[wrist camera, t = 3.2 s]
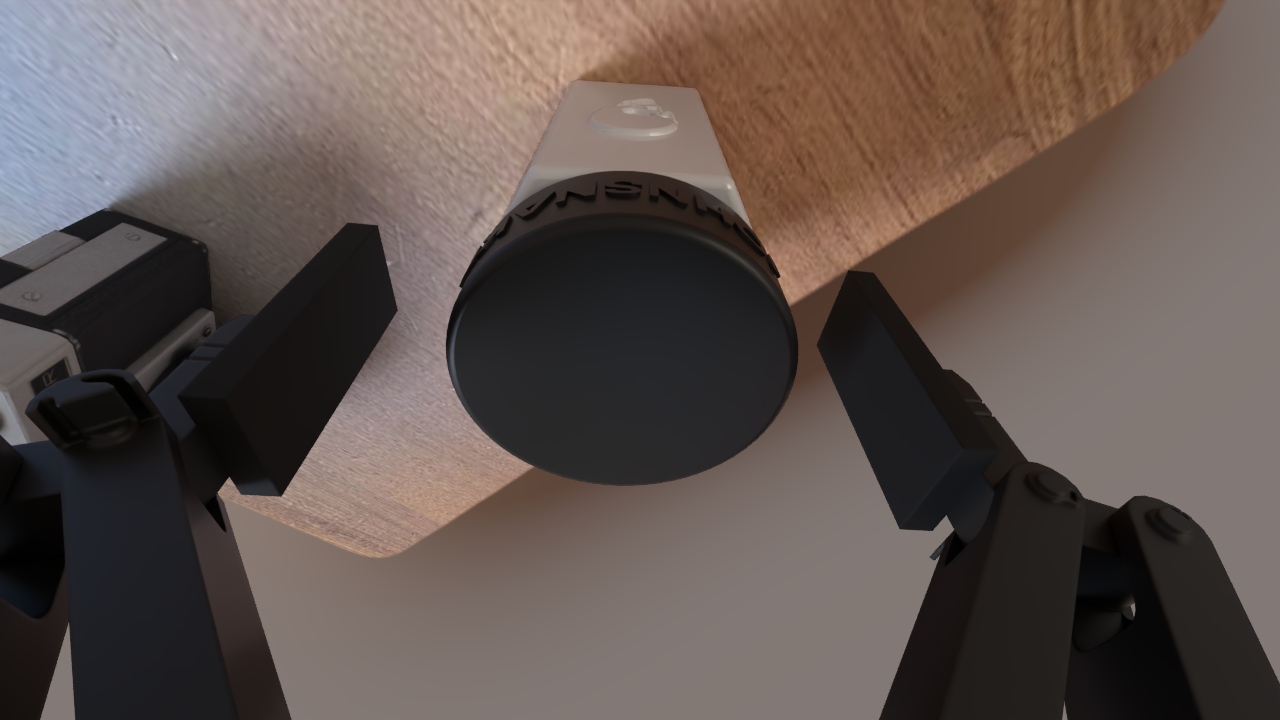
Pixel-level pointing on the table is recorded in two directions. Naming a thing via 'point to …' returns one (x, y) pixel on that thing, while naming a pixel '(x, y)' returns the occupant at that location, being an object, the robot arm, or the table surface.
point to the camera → (98, 309)
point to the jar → (623, 299)
